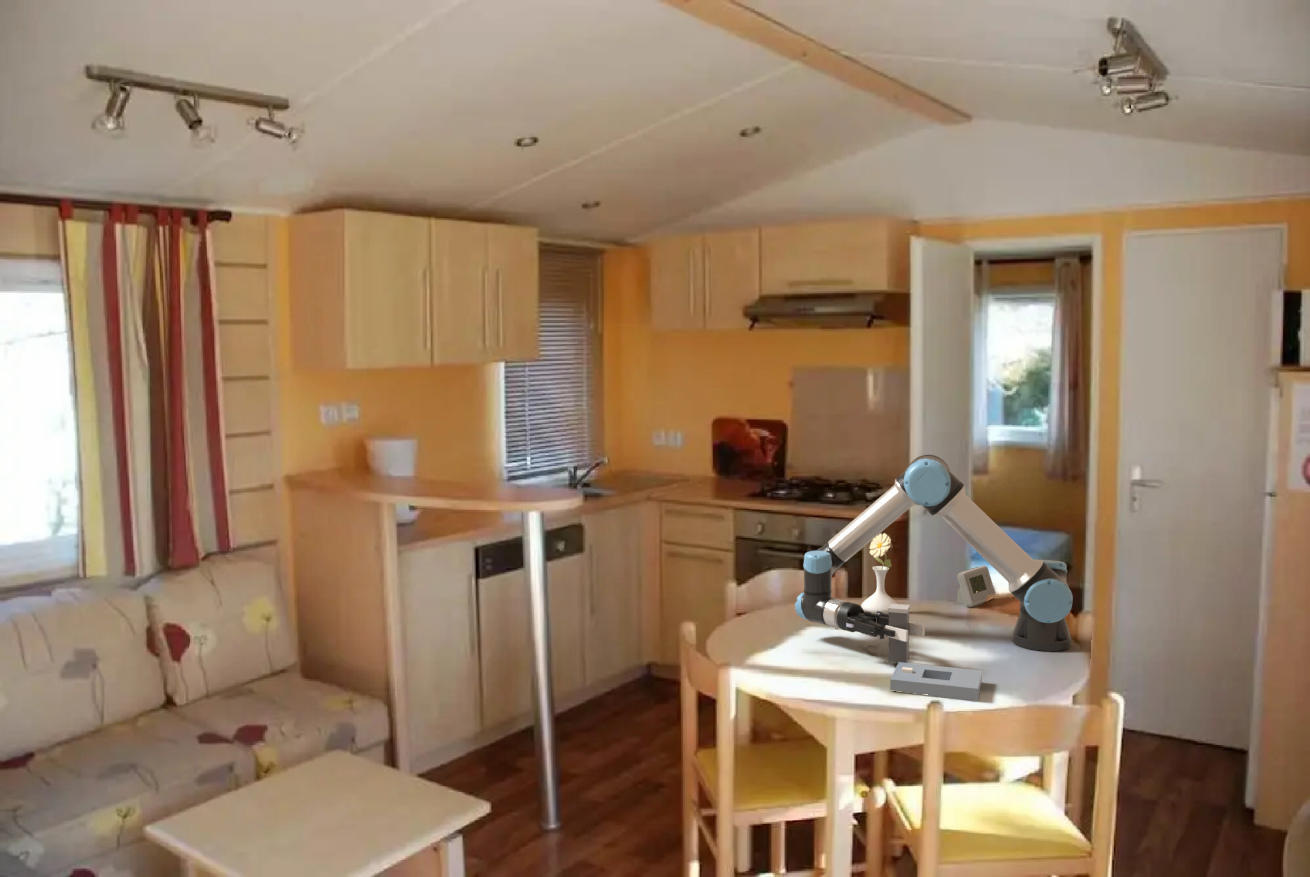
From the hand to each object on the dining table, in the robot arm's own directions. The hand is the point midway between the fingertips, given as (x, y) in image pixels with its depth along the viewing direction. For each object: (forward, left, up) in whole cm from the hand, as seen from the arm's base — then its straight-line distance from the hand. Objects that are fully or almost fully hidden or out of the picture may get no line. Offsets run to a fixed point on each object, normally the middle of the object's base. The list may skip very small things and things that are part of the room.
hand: (915, 633), depth 269 cm
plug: (+4, -3, -8) cm, 9 cm away
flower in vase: (+16, -52, -10) cm, 55 cm away
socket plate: (-7, +11, -9) cm, 16 cm away
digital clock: (-10, -74, -10) cm, 75 cm away
